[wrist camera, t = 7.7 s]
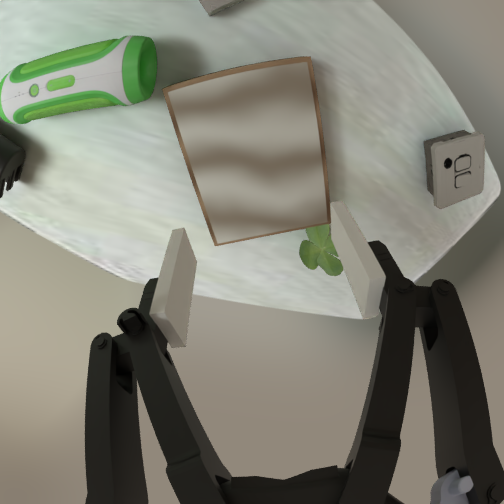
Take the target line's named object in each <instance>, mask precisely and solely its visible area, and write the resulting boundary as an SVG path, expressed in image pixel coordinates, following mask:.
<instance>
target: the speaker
mask: <svg viewBox="0 0 504 504" xmlns="http://www.w3.org/2000/svg"><path fill="white" fill-rule="evenodd" d="M156 74H157V56H156V49H155V45H154V42H153V41H152V39H151V38H149V37H144V36H124V37H122V38H120V39H112V40H107V41H102V42H97V43H93V44H89V45H84V46H81V47H77V48H73V49H69V50H66V51H62V52H59V53H55V54H52V55H49V56H46V57H43V58H40V59H37V60H34V61H31V62H29V63H24V64H21V65H19V66H17V67H16V68H14V69H13V70H12V71H10V72H9V73H8V74H7V75H6V76H5V77H4V78H3V79H2V81H1V82H0V116H1V118H2V119H3V120H4V121H6V122H7V123H12V124H25V123H28V122H30V121H31V120H36V119H40V118H45V117H49V116H54V115H59V114H63V113H68V112H74V111H80V110H86V109H93V108H100V107H107V106H115V105H118V104H119V105H123V106H128V105H132V104H135V103H138V102H141V101H144V100H147V99H149V98H150V97H151V95H152V93H153V90H154V86H155V82H156Z"/></svg>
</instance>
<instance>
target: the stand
mask: <svg viewBox="0 0 504 504" xmlns="http://www.w3.org/2000/svg"><path fill="white" fill-rule="evenodd" d="M162 90H163V94H164V97H165V100H166V103H167V106H168V110H169V113H170V116H171V119H172V122H173V125H174V128H175V132H176V135H177V138H178V141H179V144H180V147H181V150H182V153H183V156H184V159H185V162H186V165H187V168H188V171H189V174H190V177H191V180H192V183H193V186H194V188H195V191H196V194H197V197H198V200H199V203H200V206H201V209H202V211H203V214H204V217H205V220H206V223H207V225H208V228H209V231H210V234H211V237H212V239H213V242H214V245H215V246H219V245H224V244H229V243H234V242H239V241H244V240H249V239H254V238H259V237H264V236H269V235H274V234H279V233H284V232H289V231H294V230H299V229H304V228H310V227H315V226H320V225H325V224H330V223H331V212H330V198H329V186H328V175H327V165H326V156H325V147H324V138H323V130H322V123H321V116H320V109H319V102H318V95H317V89H316V83H315V77H314V72H313V66H312V61H311V57H304V56H303V57H294V58H286V59H279V60H273V61H267V62H261V63H255V64H250V65H245V66H240V67H236V68H231V69H227V70H222V71H218V72H214V73H210V74H207V75H203V76H199V77H196V78H192V79H189V80H185V81H182V82H179V83H176V84H173V85H170V86H167V87H165V88H163V89H162Z"/></svg>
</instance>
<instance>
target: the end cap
mask: <svg viewBox="0 0 504 504" xmlns="http://www.w3.org/2000/svg"><path fill="white" fill-rule="evenodd" d="M24 161H25V151H24V150H23V149H22V148H20V147H19V146H17V145H16V144H14V143H13V142H12V141H10V140H9V139H7V138H6V137H4V136H3V135H1V134H0V198H1V197H2V196H3V191H4V186H5V181H6V182H7V186H6V190H7V191H8V190H10V189H11V188H12V187H13V183H14V181H15V182H16V181H18V180H19V178H20V175H21V171H22V167H23V164H24Z"/></svg>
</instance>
